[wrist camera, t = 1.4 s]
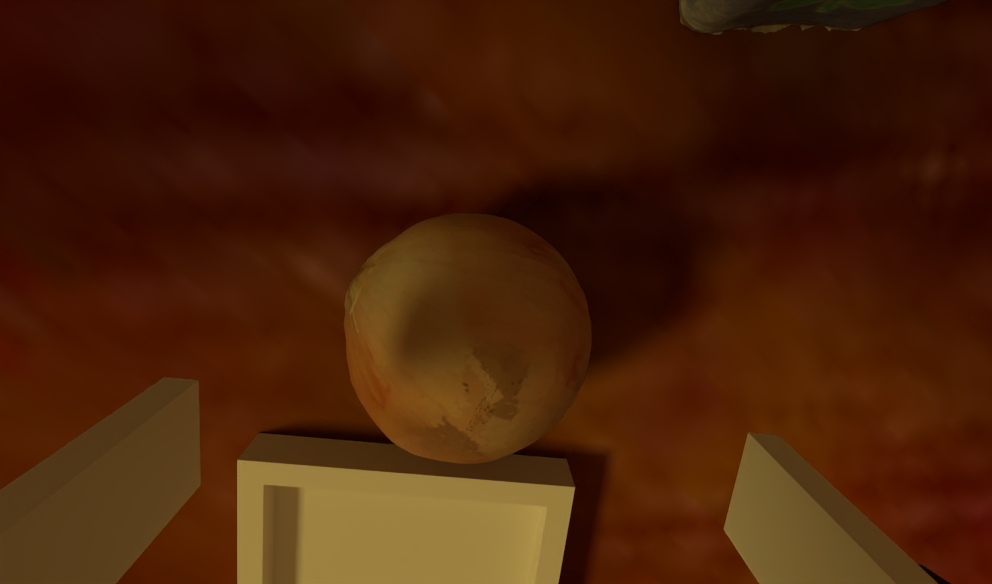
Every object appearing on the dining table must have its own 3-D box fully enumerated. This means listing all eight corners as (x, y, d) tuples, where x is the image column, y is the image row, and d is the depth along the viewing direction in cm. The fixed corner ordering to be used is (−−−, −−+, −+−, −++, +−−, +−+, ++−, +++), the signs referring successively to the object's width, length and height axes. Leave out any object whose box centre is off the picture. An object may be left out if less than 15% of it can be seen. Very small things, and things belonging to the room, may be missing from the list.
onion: (397, 173, 24) (346, 184, 15) (599, 239, 25) (676, 291, 16) (345, 362, 26) (269, 482, 17) (533, 416, 28) (564, 557, 18)
